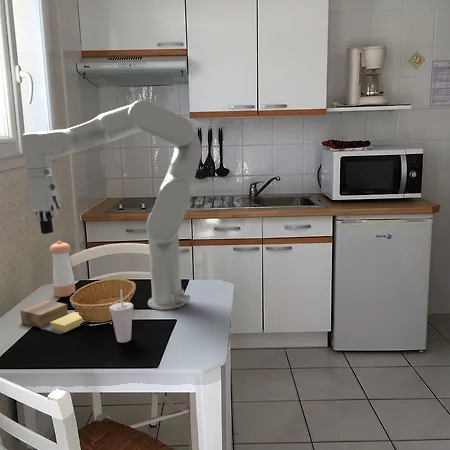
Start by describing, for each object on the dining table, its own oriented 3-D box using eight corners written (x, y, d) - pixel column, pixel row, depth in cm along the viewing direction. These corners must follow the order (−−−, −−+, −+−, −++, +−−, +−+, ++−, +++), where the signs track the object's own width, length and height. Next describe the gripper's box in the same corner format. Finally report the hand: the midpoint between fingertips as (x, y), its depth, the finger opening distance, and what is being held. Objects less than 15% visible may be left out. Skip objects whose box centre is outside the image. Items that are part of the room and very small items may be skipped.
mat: (89, 320, 149) (89, 319, 149) (60, 334, 140) (60, 333, 140) (70, 316, 154) (69, 315, 154) (40, 328, 145) (40, 327, 145)
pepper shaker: (54, 291, 179) (49, 239, 175) (75, 289, 180) (70, 238, 177) (53, 298, 172) (47, 244, 168) (75, 295, 173) (69, 242, 170)
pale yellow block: (88, 315, 148) (88, 321, 148) (74, 311, 151) (74, 318, 151) (64, 325, 140) (65, 332, 141) (50, 322, 143) (50, 328, 144)
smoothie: (139, 335, 137) (136, 287, 134) (129, 345, 131) (125, 295, 128) (119, 334, 139) (115, 286, 136) (107, 343, 133) (103, 293, 130)
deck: (68, 316, 154) (66, 304, 153) (41, 327, 145) (39, 315, 145) (48, 311, 158) (47, 299, 158) (21, 322, 150) (20, 310, 149)
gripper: (66, 172, 149) (73, 232, 152) (34, 172, 156) (41, 229, 160) (46, 175, 142) (53, 237, 146) (13, 175, 150) (21, 234, 154)
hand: (47, 232), depth 153 cm, fingers closed
